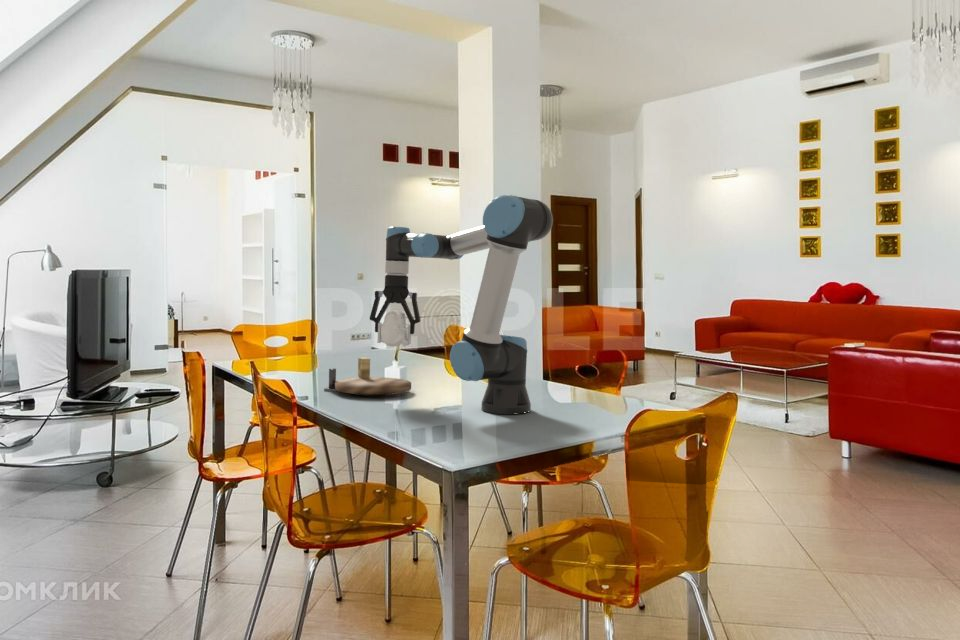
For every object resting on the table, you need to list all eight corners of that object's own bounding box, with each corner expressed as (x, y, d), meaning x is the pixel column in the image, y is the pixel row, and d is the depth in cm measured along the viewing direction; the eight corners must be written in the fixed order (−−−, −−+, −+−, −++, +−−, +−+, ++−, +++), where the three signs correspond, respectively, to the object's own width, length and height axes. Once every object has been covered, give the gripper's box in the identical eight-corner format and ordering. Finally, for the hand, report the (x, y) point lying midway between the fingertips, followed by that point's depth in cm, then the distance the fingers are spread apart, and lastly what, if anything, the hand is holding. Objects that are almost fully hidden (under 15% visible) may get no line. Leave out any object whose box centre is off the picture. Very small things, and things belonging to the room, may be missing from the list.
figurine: (374, 347, 221) (376, 309, 220) (383, 344, 230) (385, 308, 229) (404, 348, 219) (406, 311, 218) (412, 345, 229) (413, 310, 228)
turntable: (417, 383, 249) (418, 359, 248) (402, 396, 222) (403, 368, 222) (347, 381, 251) (348, 356, 251) (324, 392, 224) (325, 365, 224)
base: (397, 390, 243) (397, 369, 242) (388, 396, 229) (389, 374, 228) (331, 387, 245) (331, 366, 244) (318, 393, 231) (318, 371, 230)
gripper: (431, 276, 226) (428, 343, 228) (366, 273, 228) (364, 340, 229) (428, 276, 218) (425, 346, 220) (360, 273, 220) (358, 342, 222)
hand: (394, 343), depth 225 cm, fingers closed on figurine, 9 cm apart
